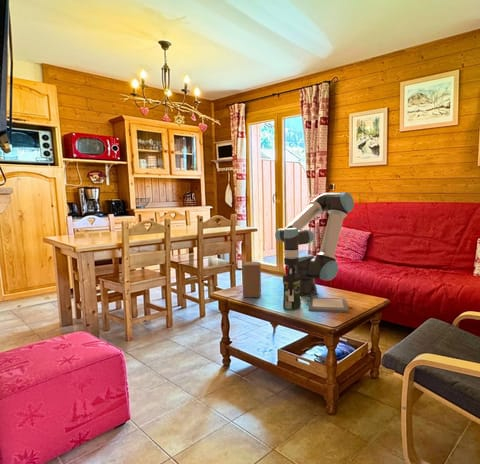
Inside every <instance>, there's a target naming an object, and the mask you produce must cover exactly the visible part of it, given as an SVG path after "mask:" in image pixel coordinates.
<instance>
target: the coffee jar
mask: <svg viewBox="0 0 480 464" xmlns="http://www.w3.org/2000/svg"><path fill="white" fill-rule="evenodd" d="M282 285H283V299H282V300H283V301H282V307H283V308H284V309H285V310H290V311H291V310H294V311H295V310H298V309H299V308H300V307H301V305H302V301H301V295H300V275H299V274H297V273H295V274H294V277H293V288H294V302H292V301H288V289H287V288H288V274H285V275H283V276H282Z"/></svg>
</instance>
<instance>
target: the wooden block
mask: <svg viewBox="0 0 480 464" xmlns="http://www.w3.org/2000/svg"><path fill="white" fill-rule="evenodd" d="M261 266H262V265H261V262H259V261H245V262H244V263H243V264H242V266H241V270H242V271H241V272H242V276H241V277H242V278H241V279H242V297H243V298H245V297H259V298H260V296H261V294H262V277H261V275H262V271H261Z"/></svg>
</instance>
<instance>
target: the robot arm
mask: <svg viewBox="0 0 480 464" xmlns="http://www.w3.org/2000/svg"><path fill="white" fill-rule="evenodd" d="M354 201H355V200H354V198H353V195H352V194H351V193H350V192H345V191H339V192H338V191H336V192H332V191H331V192H324V193H321V194H320V195H318V196H316V197H315V198H313V199H312V200H310V202H309V203H308V206H307V207H306V208H304V210H302V211H301V212H300V213H299V214H298V215H297V216H296V217H295V218H293V220H291V221H290V222H289V223H288V224H287V225H286V226H285V227H283V228H282V227H281V228H278V229H277V230H276V231H275V234H274V236H275V239H276V241H278V242H280V243H281V242H282V243H283V249H284V250H283V251H282V252H283V255H284V258H283V261H284V262H283V265H285V266H288V267H287V275H288V288H287V289H288V301H292V302H294V288H293V277H294V274H295V273H297V274H299V275H300V296H314V295H316V294H317V293H318V289H317V286H316V282H315V279H319V280H322V281H332V280H333V279H335V277H336V276H337V274H338V272H339V267H338V266H339V264H338V263H337V258H336V256H335V254H336V251H337V247H338V242H339V238H340V236H341V235H340V233H341V231H342V226H343V222H344V219H345V218H346V217H347V216H348V214H349V213H350V212H353V209H354V204H355V202H354ZM324 212H327V214H328V218H327V223H326V227H325V230H324V235H323V237H322V242H321V246H320V249H319V253H316V254H315V255H316V256H314V254H303V255H299V246H301V245H307V244H312V242H313V241H314V239H315V238H314V237H315V236H314V235H315V234H314V233H313V231H311V230H309V229H305V227H306V226H307V225H308V224H309V223H310V222H311V221H312V220H313V219H314V218H315V217H317V216H318V215H321V214H322V213H324ZM303 229H304V230H303Z"/></svg>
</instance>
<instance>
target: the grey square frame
mask: <svg viewBox="0 0 480 464" xmlns="http://www.w3.org/2000/svg"><path fill="white" fill-rule="evenodd" d="M308 311H309V312H332V313H349V311H350V310H349V308H348V304H347V301H346V298H342V297H341V298H338V297H313V296H312V297H308Z"/></svg>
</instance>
